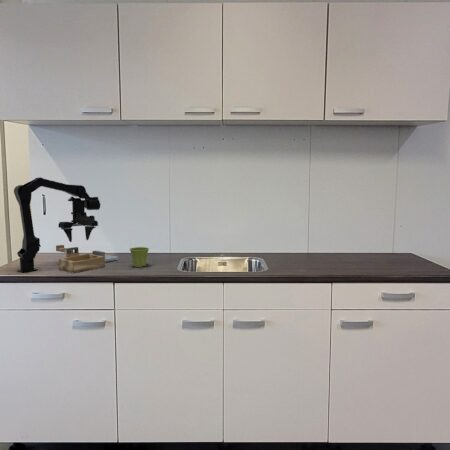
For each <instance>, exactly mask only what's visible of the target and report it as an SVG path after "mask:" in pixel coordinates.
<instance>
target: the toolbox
mask: <svg viewBox="0 0 450 450" xmlns="http://www.w3.org/2000/svg"><path fill="white" fill-rule="evenodd" d="M71 250H73V253H71ZM65 256H66V257H61V258H59V259H58V267H59V268H58V269H59V270H61V271H64V272H69V273H73V274H78V273H82V272H87V271H91V270H97V269H101V268H106V262H105V257H103V256H98V255H93V254H92V253H87V254H81V255H80V253H79V247H78V246H76V247H75V246H73V247H67V253H65Z"/></svg>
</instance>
